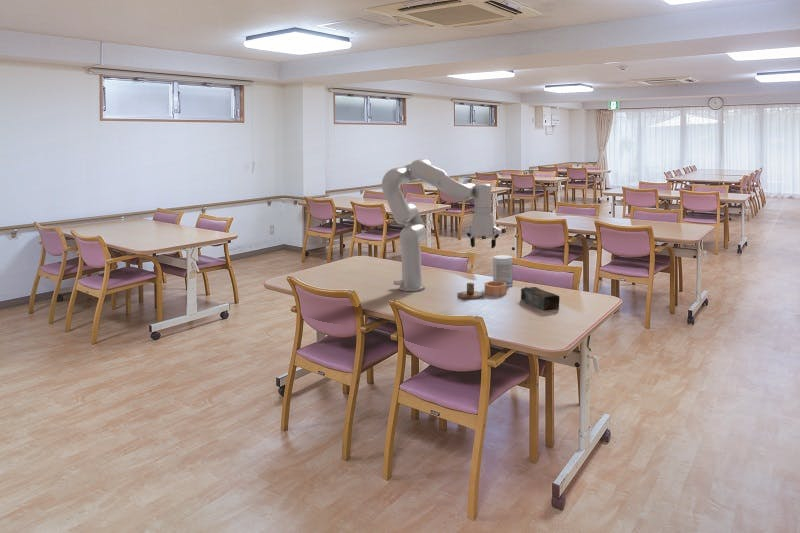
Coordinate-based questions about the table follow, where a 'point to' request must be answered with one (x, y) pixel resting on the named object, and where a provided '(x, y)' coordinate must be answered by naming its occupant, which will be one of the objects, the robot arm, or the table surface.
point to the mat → (470, 299)
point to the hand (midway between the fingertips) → (483, 247)
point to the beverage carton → (540, 298)
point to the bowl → (495, 288)
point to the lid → (470, 292)
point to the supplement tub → (503, 269)
